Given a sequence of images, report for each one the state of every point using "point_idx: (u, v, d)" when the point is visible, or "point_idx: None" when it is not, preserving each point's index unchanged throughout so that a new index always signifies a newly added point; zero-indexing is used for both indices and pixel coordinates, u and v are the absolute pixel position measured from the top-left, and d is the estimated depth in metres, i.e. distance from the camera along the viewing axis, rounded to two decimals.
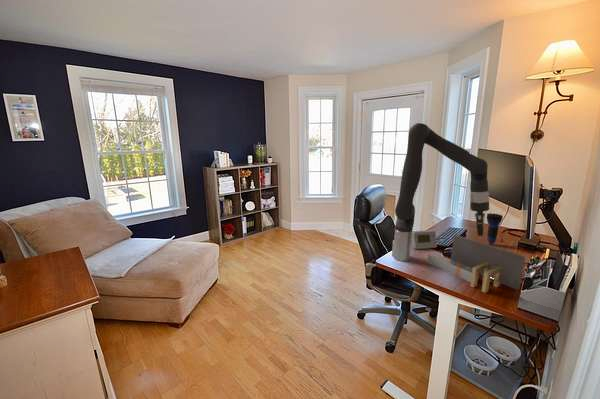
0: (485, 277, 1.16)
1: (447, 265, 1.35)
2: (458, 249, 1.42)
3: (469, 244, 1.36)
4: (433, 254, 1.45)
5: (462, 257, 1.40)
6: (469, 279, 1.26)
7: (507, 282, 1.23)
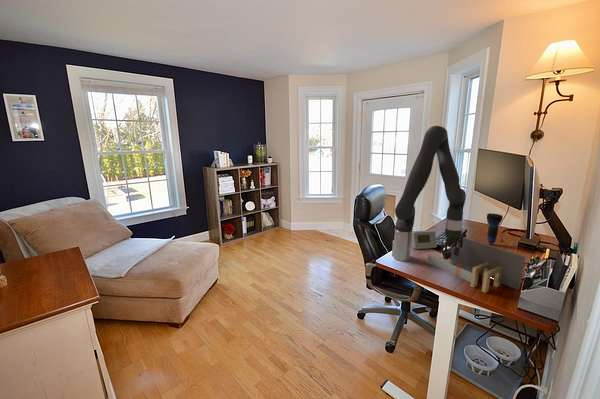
0: (485, 277, 1.16)
1: (447, 265, 1.36)
2: None
3: (469, 244, 1.36)
4: (433, 254, 1.45)
5: (462, 257, 1.40)
6: (469, 279, 1.26)
7: (507, 282, 1.23)
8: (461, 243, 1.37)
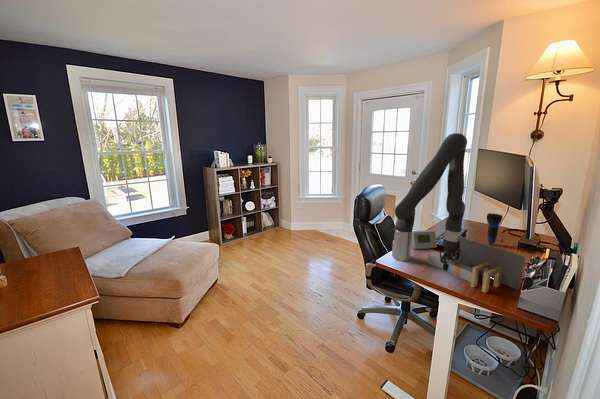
0: (485, 277, 1.16)
1: None
2: None
3: (469, 244, 1.36)
4: (433, 254, 1.45)
5: (462, 257, 1.40)
6: (469, 279, 1.26)
7: (507, 282, 1.23)
8: (458, 255, 1.38)
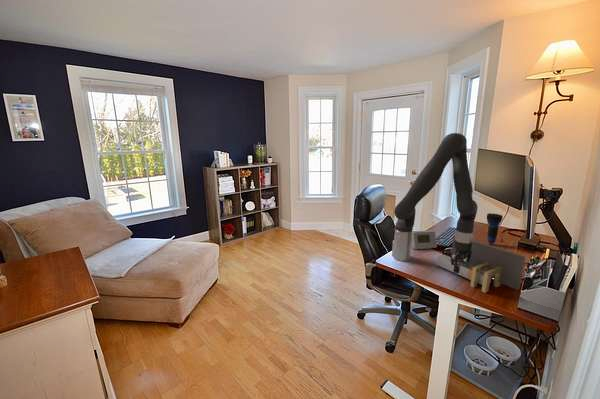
0: (485, 277, 1.16)
1: None
2: None
3: None
4: (443, 256, 1.40)
5: None
6: (482, 282, 1.21)
7: (507, 282, 1.23)
8: (469, 257, 1.33)
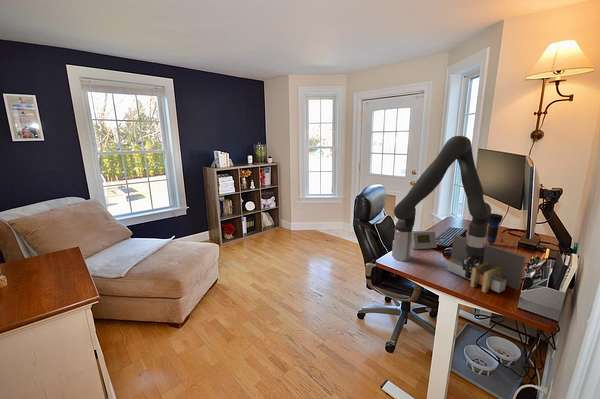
0: (485, 277, 1.16)
1: None
2: (458, 249, 1.42)
3: None
4: (453, 260, 1.35)
5: (462, 257, 1.40)
6: (496, 289, 1.16)
7: (507, 282, 1.23)
8: (481, 262, 1.28)
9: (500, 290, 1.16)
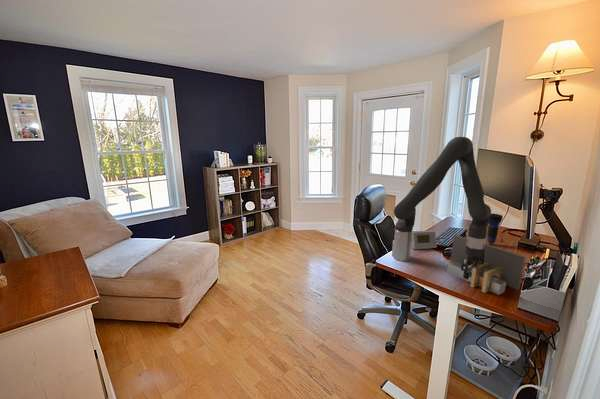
0: (485, 277, 1.16)
1: (470, 275, 1.26)
2: (458, 249, 1.42)
3: None
4: (453, 262, 1.35)
5: (462, 257, 1.40)
6: (495, 291, 1.16)
7: (507, 282, 1.23)
8: (482, 262, 1.28)
9: (500, 292, 1.16)
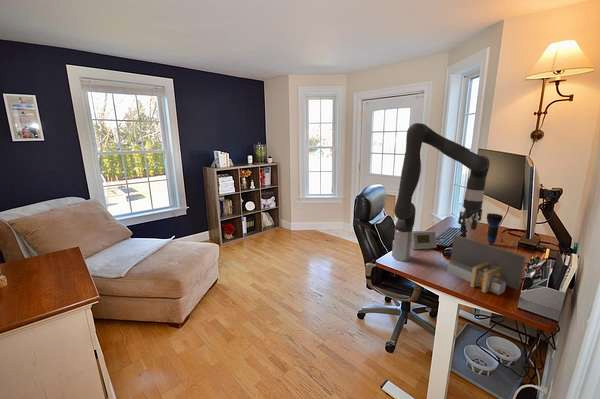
0: (485, 277, 1.16)
1: (470, 275, 1.26)
2: (458, 249, 1.42)
3: (469, 244, 1.36)
4: (453, 262, 1.35)
5: (462, 257, 1.40)
6: (495, 291, 1.16)
7: (507, 282, 1.23)
8: (480, 216, 1.28)
9: (500, 292, 1.16)
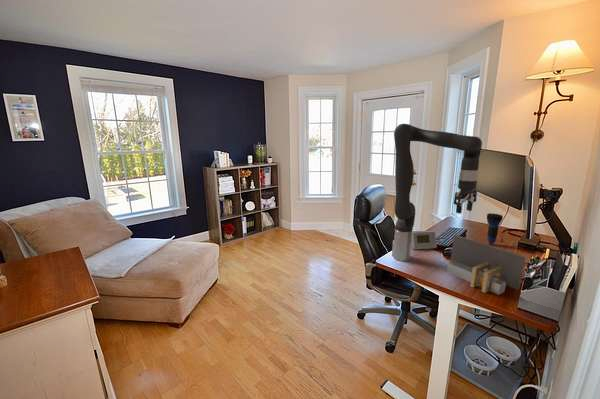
0: (485, 277, 1.16)
1: (470, 275, 1.26)
2: (458, 249, 1.42)
3: (469, 244, 1.36)
4: (453, 262, 1.35)
5: (462, 257, 1.40)
6: (495, 291, 1.16)
7: (507, 282, 1.23)
8: (475, 197, 1.30)
9: (500, 292, 1.16)
